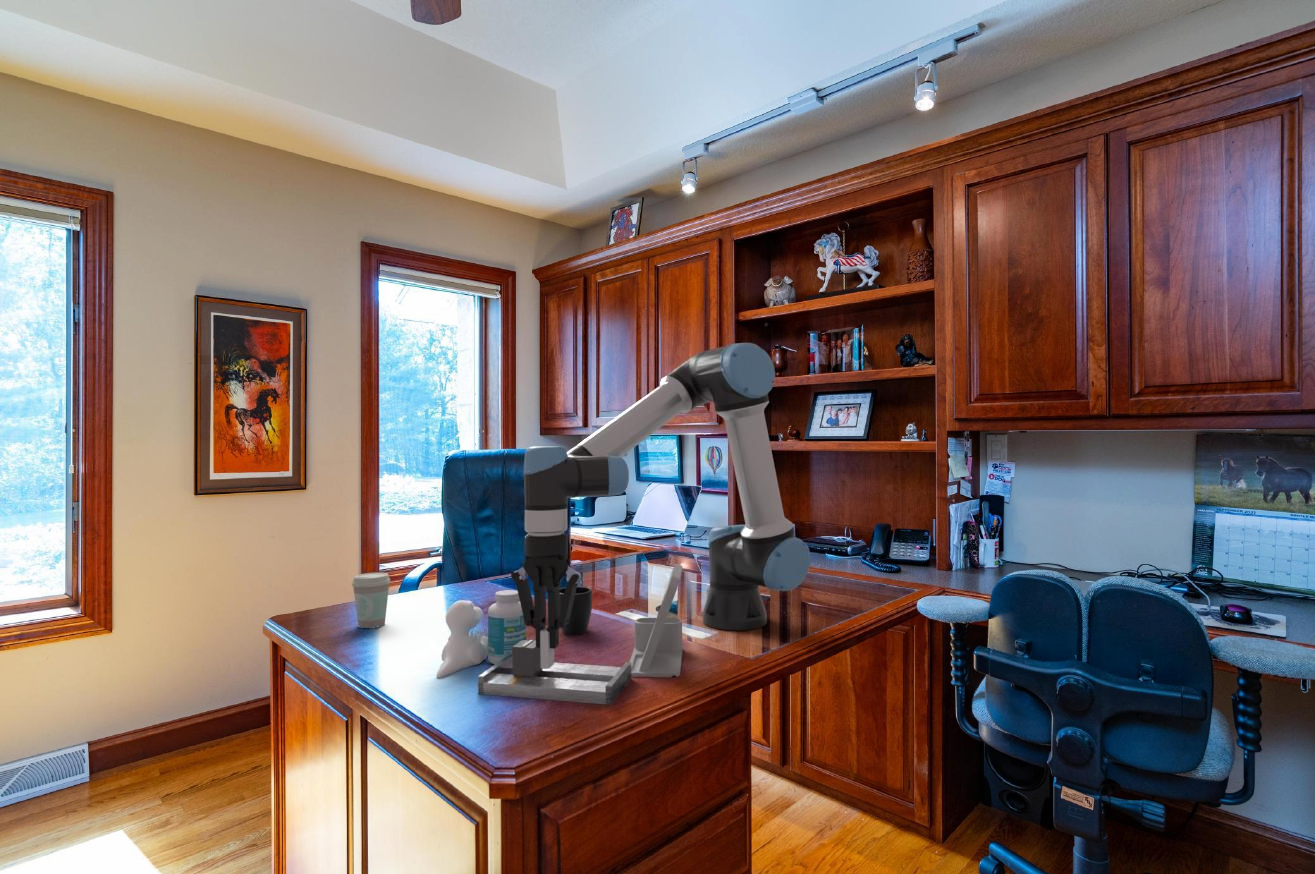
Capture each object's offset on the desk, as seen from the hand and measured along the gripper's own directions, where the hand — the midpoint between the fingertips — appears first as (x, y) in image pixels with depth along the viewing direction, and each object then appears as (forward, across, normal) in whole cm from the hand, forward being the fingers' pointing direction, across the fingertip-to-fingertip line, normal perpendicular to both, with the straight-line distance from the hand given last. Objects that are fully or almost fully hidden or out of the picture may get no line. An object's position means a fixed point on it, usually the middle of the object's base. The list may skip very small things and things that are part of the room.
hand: (547, 665), depth 114 cm
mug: (+4, +7, -34) cm, 35 cm away
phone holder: (+4, -16, -16) cm, 23 cm away
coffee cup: (+4, +57, -28) cm, 64 cm away
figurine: (+4, +21, -8) cm, 23 cm away
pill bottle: (+4, +13, -11) cm, 18 cm away
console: (+4, -2, 0) cm, 4 cm away
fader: (+2, +4, 0) cm, 4 cm away
